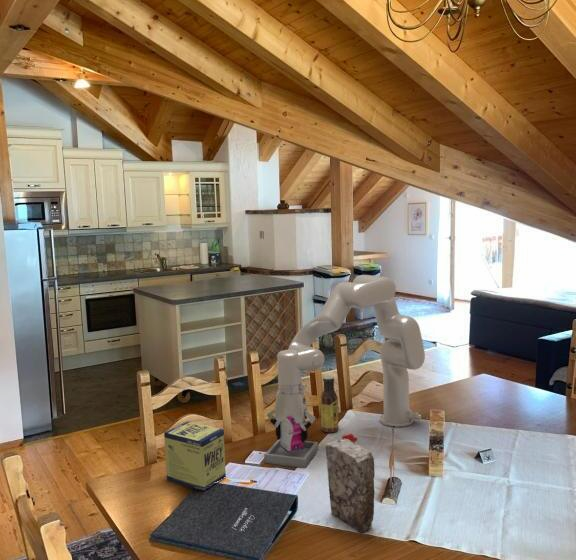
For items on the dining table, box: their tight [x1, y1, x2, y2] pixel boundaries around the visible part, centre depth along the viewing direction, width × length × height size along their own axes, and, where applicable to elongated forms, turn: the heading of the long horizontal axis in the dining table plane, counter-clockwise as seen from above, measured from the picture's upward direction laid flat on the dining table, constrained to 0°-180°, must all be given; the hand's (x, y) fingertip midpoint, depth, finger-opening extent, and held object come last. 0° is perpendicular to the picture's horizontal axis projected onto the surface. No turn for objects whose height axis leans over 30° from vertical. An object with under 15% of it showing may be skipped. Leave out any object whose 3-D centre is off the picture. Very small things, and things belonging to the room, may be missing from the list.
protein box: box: [163, 421, 227, 489], centre depth 169 cm, size 10×16×16 cm
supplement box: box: [280, 417, 303, 453], centre depth 182 cm, size 6×6×12 cm
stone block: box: [325, 439, 376, 534], centre depth 142 cm, size 13×7×20 cm, turn 39°
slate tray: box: [263, 438, 319, 469], centre depth 183 cm, size 14×14×3 cm
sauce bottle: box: [320, 375, 339, 433], centre depth 203 cm, size 6×6×20 cm
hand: (291, 439), depth 182 cm, fingers closed on supplement box, 8 cm apart
